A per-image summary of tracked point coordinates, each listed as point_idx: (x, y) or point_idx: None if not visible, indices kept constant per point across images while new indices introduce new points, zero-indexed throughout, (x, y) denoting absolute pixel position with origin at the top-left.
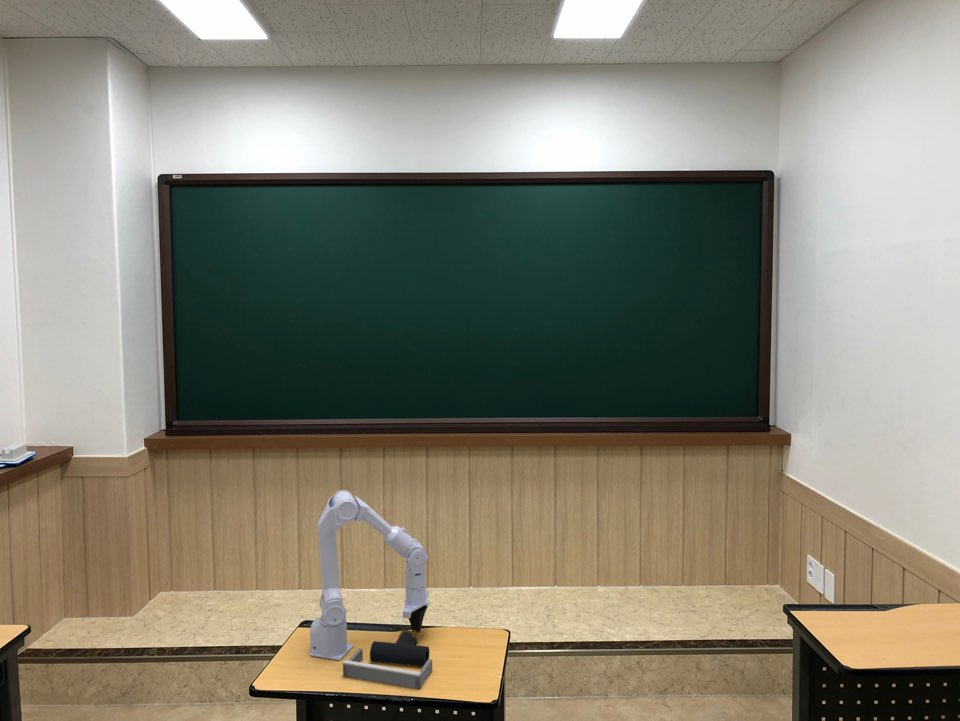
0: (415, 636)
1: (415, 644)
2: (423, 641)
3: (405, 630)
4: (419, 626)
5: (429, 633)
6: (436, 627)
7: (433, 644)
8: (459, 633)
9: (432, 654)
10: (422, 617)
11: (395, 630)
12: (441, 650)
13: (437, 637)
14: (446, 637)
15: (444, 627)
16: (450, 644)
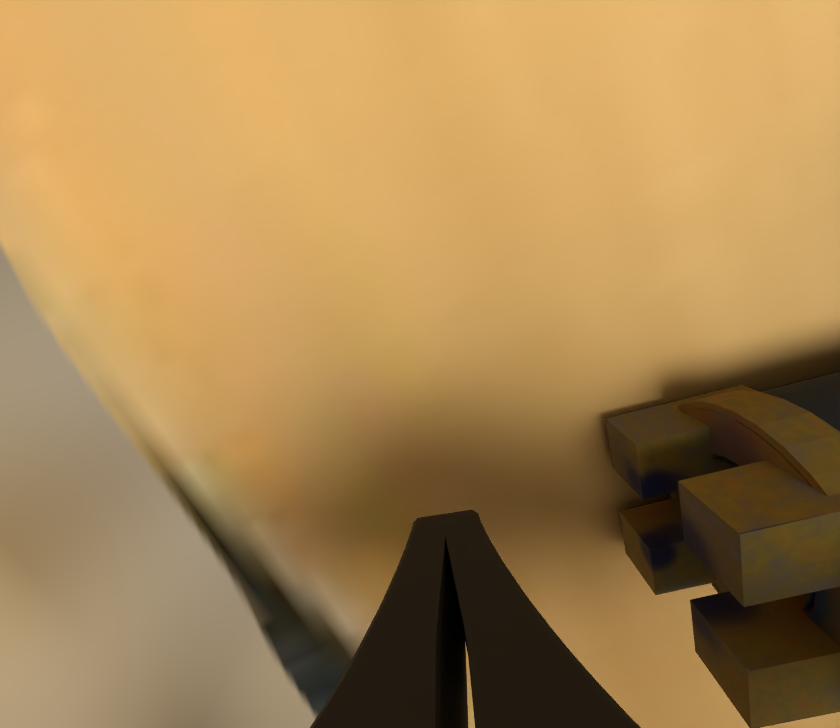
0: (837, 463)
1: (785, 393)
2: (488, 397)
3: (777, 685)
4: (506, 570)
5: (301, 428)
6: (145, 428)
7: (504, 254)
8: (78, 67)
9: (743, 126)
10: (431, 711)
11: None
12: (608, 60)
13: (332, 298)
14: (273, 189)
15: (85, 347)
16: (409, 22)
